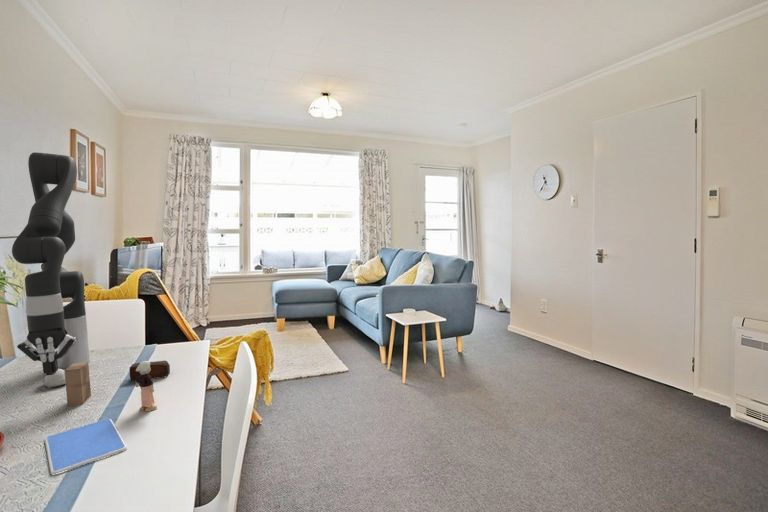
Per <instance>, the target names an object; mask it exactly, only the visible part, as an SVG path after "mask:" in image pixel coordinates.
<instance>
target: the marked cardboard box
mask: <svg viewBox="0 0 768 512" xmlns="http://www.w3.org/2000/svg"><path fill="white" fill-rule="evenodd" d="M89 365H90V364H89V362H80V363H73V364H72V365H71V366H69V367H68V368H65V369H63V370H64V371H65V382H66V383H65V393H66V403H67V407H74V406H80V405H81V406H82V405H84V404H85V403H86V402H87V401H88V399H89V398H90V397H91V396H92V390H91V380H90V366H89Z"/></svg>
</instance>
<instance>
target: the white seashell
mask: <svg viewBox="0 0 768 512" xmlns="http://www.w3.org/2000/svg"><path fill="white" fill-rule="evenodd" d="M64 370H65V369H63V368H58V371H56V373H55V374H54V375H46V374H45V376H44V377H43V384H44V386H45V387H47V389H51V388H52V387H53V388H55V387H59V386H62V385H66V382H65V371H64Z"/></svg>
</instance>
